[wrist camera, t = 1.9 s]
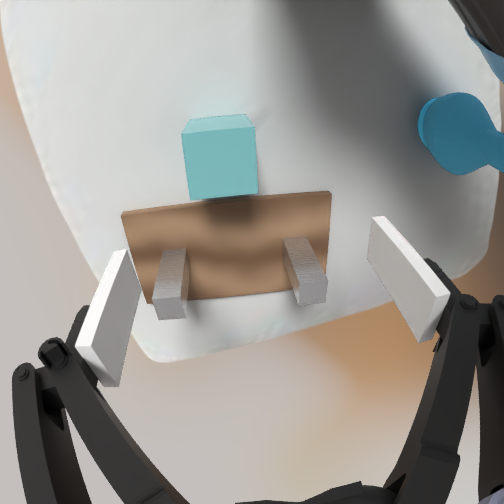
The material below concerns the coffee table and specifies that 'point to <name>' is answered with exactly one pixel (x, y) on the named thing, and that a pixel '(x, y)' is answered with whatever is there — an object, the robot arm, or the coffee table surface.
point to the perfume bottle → (460, 134)
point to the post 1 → (172, 285)
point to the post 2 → (304, 271)
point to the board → (229, 241)
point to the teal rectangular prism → (220, 156)
